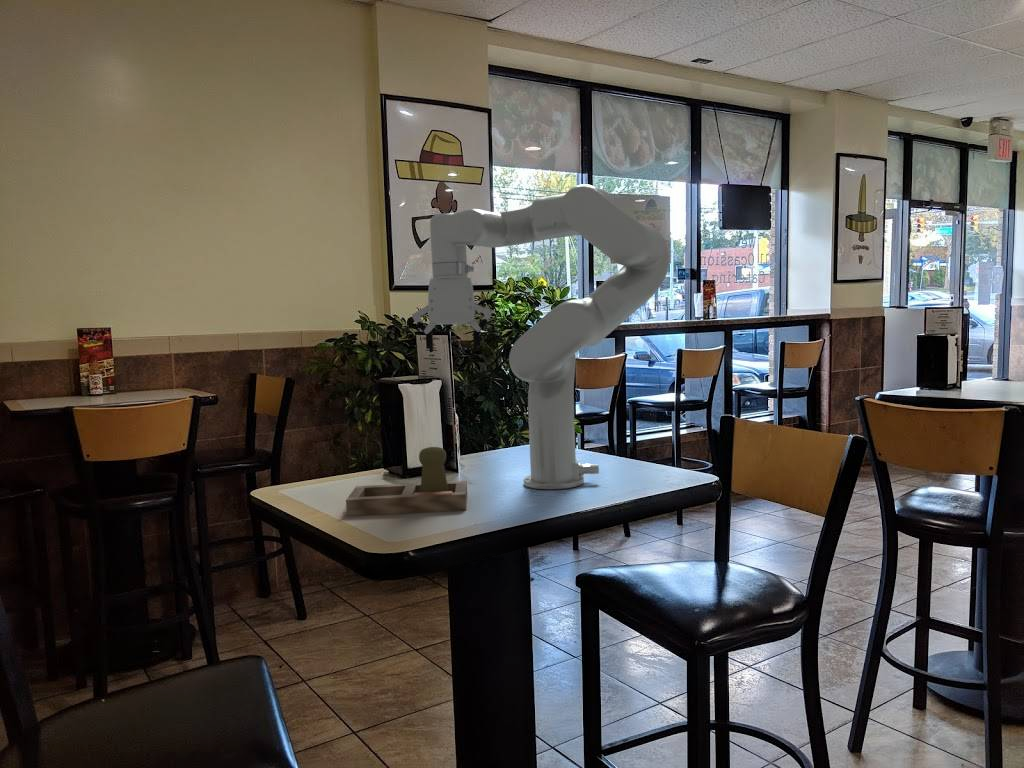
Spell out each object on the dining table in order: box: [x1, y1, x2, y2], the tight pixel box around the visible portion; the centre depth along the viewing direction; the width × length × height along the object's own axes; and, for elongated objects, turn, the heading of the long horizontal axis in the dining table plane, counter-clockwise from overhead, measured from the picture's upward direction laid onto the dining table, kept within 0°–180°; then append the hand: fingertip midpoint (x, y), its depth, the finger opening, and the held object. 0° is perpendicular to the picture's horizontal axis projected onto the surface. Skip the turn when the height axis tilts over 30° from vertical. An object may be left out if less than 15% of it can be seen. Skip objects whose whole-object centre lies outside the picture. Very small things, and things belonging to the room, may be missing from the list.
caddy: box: [345, 480, 468, 517], centre depth 153 cm, size 22×12×3 cm, turn 92°
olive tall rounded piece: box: [418, 446, 449, 493], centre depth 153 cm, size 6×6×11 cm
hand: (453, 351), depth 174 cm, fingers open, 9 cm apart
